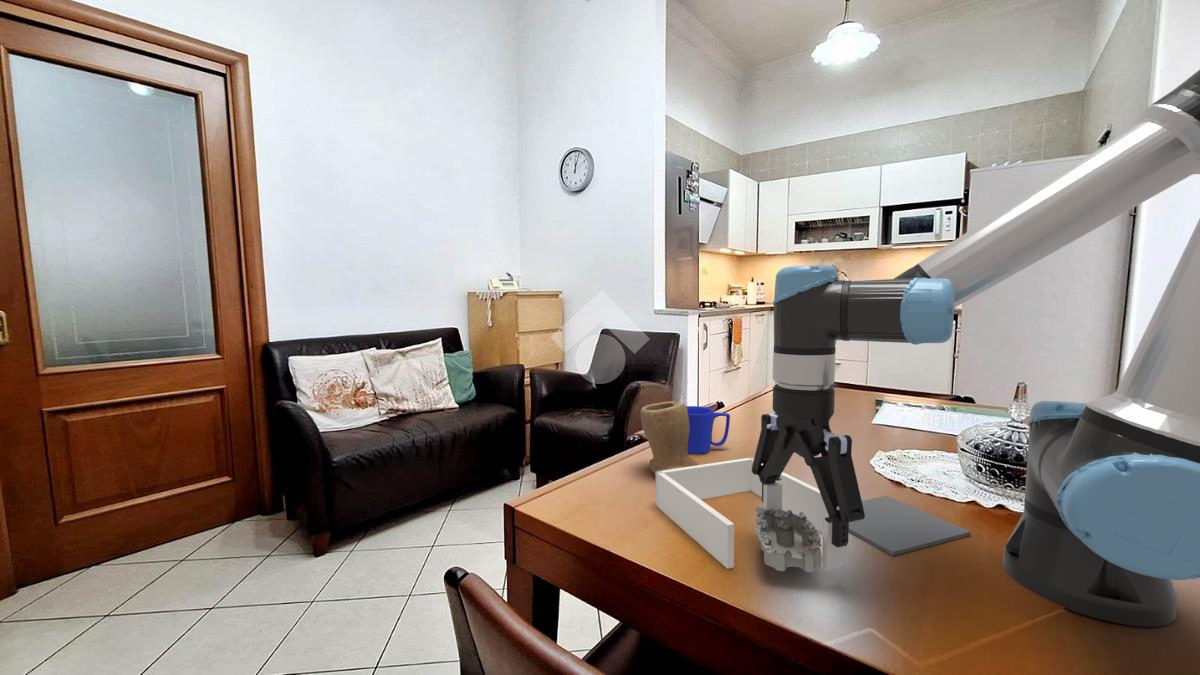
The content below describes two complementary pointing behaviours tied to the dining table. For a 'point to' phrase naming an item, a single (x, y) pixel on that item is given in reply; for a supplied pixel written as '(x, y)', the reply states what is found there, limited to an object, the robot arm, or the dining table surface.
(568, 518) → the dining table surface
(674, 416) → the stone cup
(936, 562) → the dining table surface
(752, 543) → the dining table surface
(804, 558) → the grey castle ring
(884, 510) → the mat
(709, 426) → the mug
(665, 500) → the white open frame
